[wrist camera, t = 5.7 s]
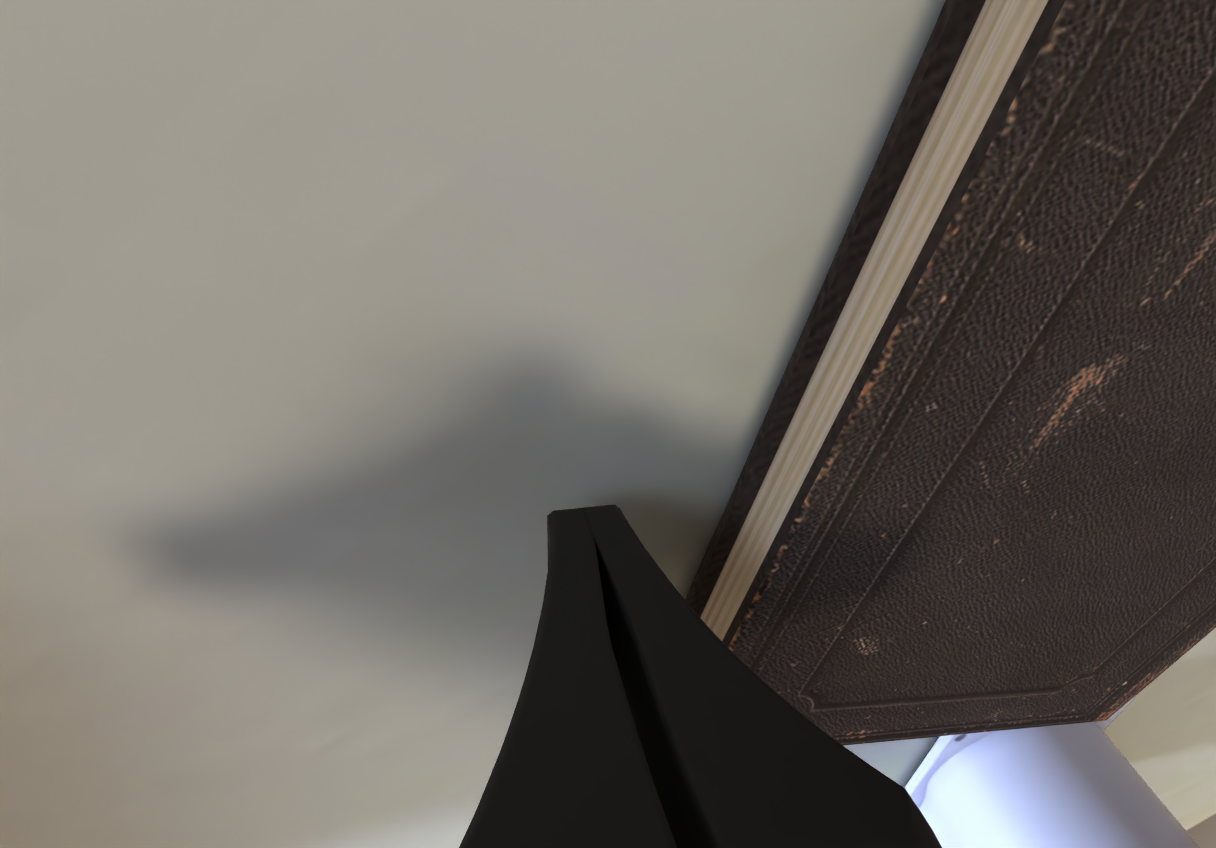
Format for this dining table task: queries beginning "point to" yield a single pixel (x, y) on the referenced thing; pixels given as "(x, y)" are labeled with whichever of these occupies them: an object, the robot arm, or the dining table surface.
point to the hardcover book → (999, 394)
